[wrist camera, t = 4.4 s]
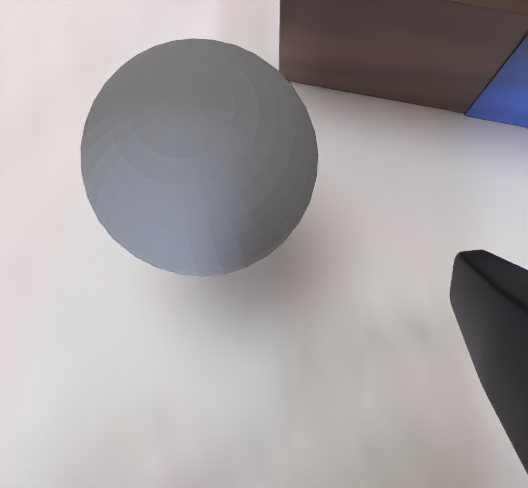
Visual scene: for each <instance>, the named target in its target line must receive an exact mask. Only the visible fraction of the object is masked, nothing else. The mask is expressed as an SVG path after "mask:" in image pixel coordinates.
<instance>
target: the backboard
mask: <svg viewBox="0 0 528 488" xmlns="http://www.w3.org/2000/svg"><path fill="white" fill-rule="evenodd" d="M279 72H280V73H281V74H282V75H283V76H284V77H285V79H286V80H289V81H294V82H299V83H305V84H310V85H316V86H321V87H327V88H332V89H337V90H343V91H348V92H354V93H359V94H365V95H370V96H376V97H381V98H386V99H392V100H397V101H403V102H408V103H414V104H419V105H424V106H430V107H435V108H441V109H446V110H452V111H457V112H463V113H465V116H469V117H475V118H480V119H486V120H491V121H497V122H502V123H507V124H513V125H518V126H524V127H528V0H280V30H279Z"/></svg>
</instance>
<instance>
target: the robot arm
mask: <svg viewBox="0 0 528 488" xmlns="http://www.w3.org/2000/svg"><path fill="white" fill-rule="evenodd" d="M450 301H451V305H452V308H453V311H454V313H455V316H456V319H457V321H458V324H459V327H460V329H461V332H462V335H463V337H464V340H465V343H466V345H467V348H468V351H469V353H470V356H471V359H472V361H473V364H474V367H475V369H476V372H477V374H478V377H479V379H480V382H481V384H482V386H483V388H484V390H485V392H486V395H487V397H488V399H489V401H490V402H491V404H492V406H493V408H494V410H495V412H496V414H497V416H498V418H499V420H500V422H501V424H502V426H503V428H504V430H505V432H506V433H507V435H508V437H509V439H510V441H511V443H512V445H513V447H514V449H515V451H516V453H517V455H518V457H519V459H520V461H521V463H522V464H523V466H524V468H525V470H526V472H527V474H528V270H526V269H524V268H522V267H520V266H518V265H516V264H513V263H511V262H509V261H507V260H505V259H502V258H500V257H498V256H496V255H494V254H492V253H489V252H487V251H485V250H472V251H463V252H459V253H458V254H457V255H456V257H455V260H454V266H453V273H452V280H451V287H450Z"/></svg>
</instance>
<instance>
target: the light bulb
mask: <svg viewBox="0 0 528 488" xmlns="http://www.w3.org/2000/svg"><path fill="white" fill-rule="evenodd" d="M317 164H318V149H317V143H316V136H315V131H314V128H313V125H312V122H311V120H310V117H309V114H308V112H307V109H306V107H305V105H304V104H303V102H302V100H301V99H300V97H299V96H298V94H297V92H296V91H295V89H294V88H293V86H292V85H291V84H290V83H289V82H288V81H287V80H286V79H285V77H284V76H283V75H282V74H281V73H280V72H279V71H278V70H277V69H276V68H274V67H273V66H271V65H270V64H268V63H267V62H266V61H264V60H263V59H261V58H260V57H258V56H257V55H256V54H254V53H252V52H249V51H247V50H245V49H243V48H241V47H238V46H236V45H232V44H228V43H224V42H220V41H216V40H207V39H185V40H176V41H171V42H167V43H164V44H160V45H157V46H154V47H152V48H150V49H148V50H146V51H144V52H142V53H140V54H138V55H136V56H135V57H133V58H132V59H131V60H129V61H128V62H126V63H125V64H124V65H122V66H121V67H120V68H119V69H118V70H117V71H116V72H115V73H114V74H113V75H112V77H111V78H110V79H109V80H108V81H107V82H106V83H105V84H104V86H103V88H102V89H101V91H100V92H99V94H98V95H97V97H96V98H95V100H94V102H93V104H92V107H91V109H90V112H89V114H88V117H87V119H86V122H85V126H84V131H83V137H82V142H81V171H82V177H83V181H84V185H85V189H86V194H87V197H88V199H89V202H90V204H91V206H92V208H93V210H94V212H95V214H96V216H97V218H98V220H99V222H100V223H101V224H102V225H103V227H104V228H105V229H106V230H107V232H108V233H109V234H110V236H111V237H112V238H113V239H114V240H115V241H116V242H118V243H119V244H120V245H121V246H123V247H124V248H125V249H126V250H127V251H129V252H130V253H131V254H132V255H134V256H135V257H137V258H139V259H141V260H143V261H145V262H147V263H148V264H150V265H152V266H154V267H156V268H160V269H163V270H167V271H170V272H174V273H177V274H183V275H195V276H209V275H218V274H226V273H229V272H232V271H236V270H239V269H242V268H245V267H248V266H250V265H251V264H253V263H255V262H257V261H259V260H261V259H262V258H264V257H266V256H267V255H269V254H270V253H271V252H272V251H273V250H275V249H276V248H277V247H278V246H279V245H281V244H282V243H283V242H284V241H285V240H286V238H287V237H288V236H289V235H290V233H291V232H292V231H293V230H294V228H295V227H296V226H297V225H298V223H299V222H300V220H301V218H302V216H303V214H304V212H305V210H306V208H307V207H308V205H309V203H310V199H311V195H312V192H313V188H314V185H315V181H316V177H317Z"/></svg>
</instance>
